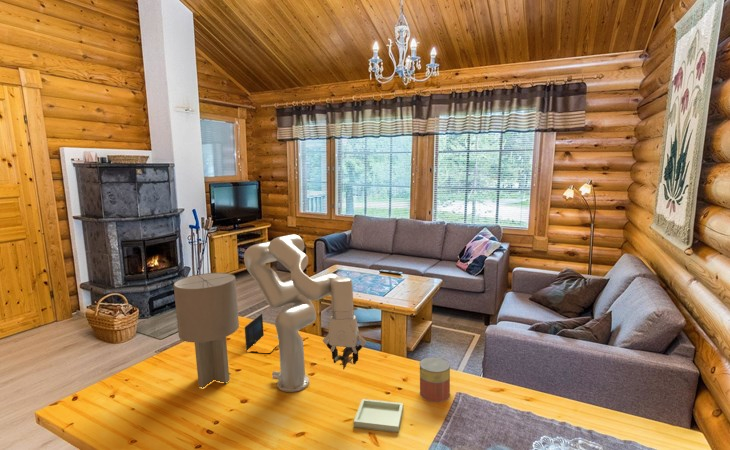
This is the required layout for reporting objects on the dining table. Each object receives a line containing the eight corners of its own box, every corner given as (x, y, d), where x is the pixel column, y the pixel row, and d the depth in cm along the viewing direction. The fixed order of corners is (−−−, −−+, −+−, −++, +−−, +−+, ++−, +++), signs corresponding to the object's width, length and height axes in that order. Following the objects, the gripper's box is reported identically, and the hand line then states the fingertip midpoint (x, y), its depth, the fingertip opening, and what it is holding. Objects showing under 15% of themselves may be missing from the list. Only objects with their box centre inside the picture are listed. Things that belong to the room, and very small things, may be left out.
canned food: (427, 382, 156) (427, 354, 154) (454, 391, 149) (454, 361, 148) (414, 396, 147) (414, 366, 145) (442, 406, 140) (442, 374, 138)
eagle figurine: (359, 366, 135) (360, 349, 144) (346, 352, 134) (348, 336, 142) (342, 376, 137) (344, 360, 146) (329, 363, 135) (332, 347, 144)
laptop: (270, 354, 184) (268, 328, 182) (246, 353, 186) (244, 327, 184) (285, 338, 201) (284, 314, 199) (263, 337, 203) (261, 313, 202)
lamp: (170, 389, 156) (159, 285, 150) (212, 362, 177) (204, 270, 171) (215, 400, 147) (205, 291, 141) (254, 371, 168) (247, 274, 162)
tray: (353, 427, 130) (353, 421, 130) (362, 404, 142) (362, 398, 142) (398, 432, 127) (398, 426, 126) (403, 408, 139) (403, 403, 139)
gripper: (315, 315, 134) (318, 365, 136) (364, 318, 130) (367, 368, 132) (322, 308, 141) (325, 355, 143) (369, 310, 137) (371, 358, 140)
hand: (345, 361), depth 138 cm, fingers closed on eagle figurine, 6 cm apart
